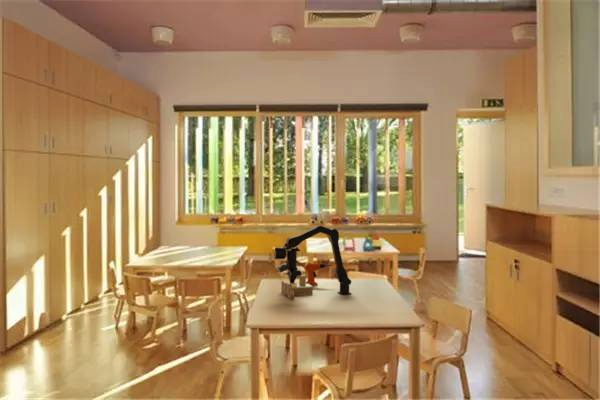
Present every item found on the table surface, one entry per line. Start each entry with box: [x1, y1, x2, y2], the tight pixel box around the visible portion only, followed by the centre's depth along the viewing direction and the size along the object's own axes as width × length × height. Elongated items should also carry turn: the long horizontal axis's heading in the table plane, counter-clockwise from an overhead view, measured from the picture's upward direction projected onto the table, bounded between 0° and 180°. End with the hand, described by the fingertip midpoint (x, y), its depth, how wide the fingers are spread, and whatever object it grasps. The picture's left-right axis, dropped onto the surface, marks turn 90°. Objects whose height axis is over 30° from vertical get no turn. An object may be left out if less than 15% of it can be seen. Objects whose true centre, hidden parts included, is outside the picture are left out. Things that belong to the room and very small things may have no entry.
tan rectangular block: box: [289, 281, 297, 289], centre depth 289 cm, size 4×3×3 cm
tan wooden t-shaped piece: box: [281, 280, 314, 300], centre depth 295 cm, size 18×16×7 cm
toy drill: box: [304, 262, 333, 287], centre depth 324 cm, size 5×19×15 cm, turn 86°
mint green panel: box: [296, 274, 313, 288], centre depth 298 cm, size 8×14×8 cm, turn 109°
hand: (291, 285), depth 292 cm, fingers closed
